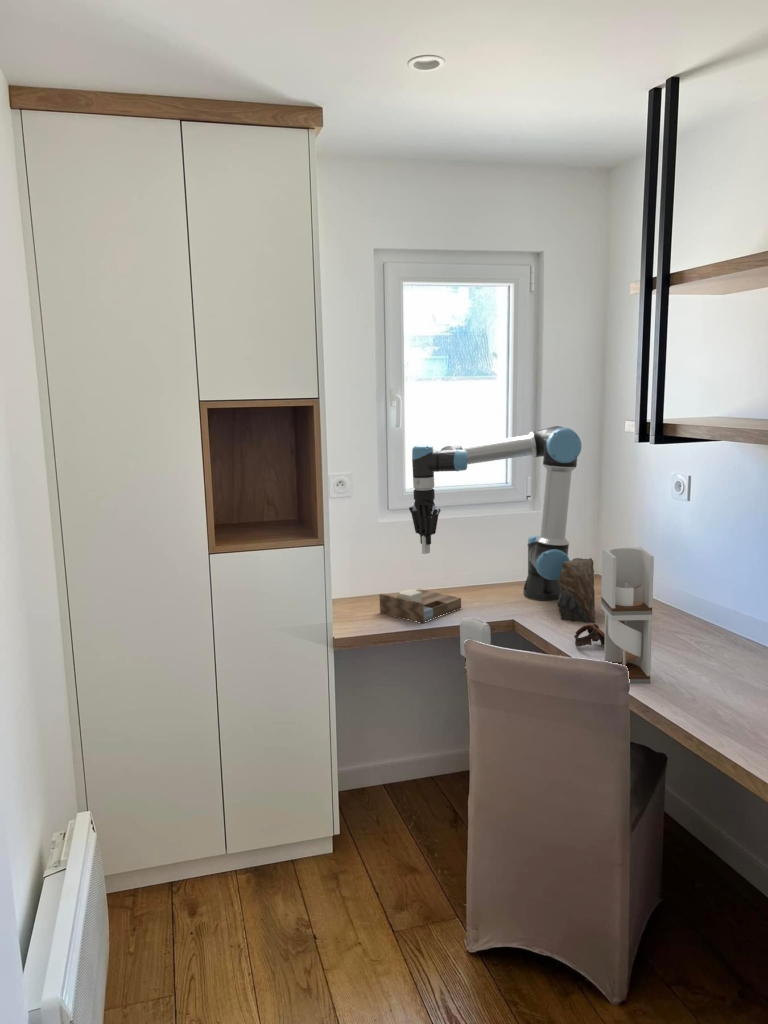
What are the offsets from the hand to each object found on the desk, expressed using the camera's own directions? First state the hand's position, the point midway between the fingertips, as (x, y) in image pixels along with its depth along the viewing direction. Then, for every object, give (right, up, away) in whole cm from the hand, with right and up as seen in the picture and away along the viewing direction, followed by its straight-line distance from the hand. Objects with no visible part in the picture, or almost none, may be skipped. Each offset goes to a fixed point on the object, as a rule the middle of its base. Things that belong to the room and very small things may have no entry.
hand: (426, 553), depth 275 cm
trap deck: (-2, -21, 0) cm, 21 cm away
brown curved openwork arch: (+49, -27, -42) cm, 70 cm away
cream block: (-6, -18, -4) cm, 19 cm away
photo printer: (+12, -29, -48) cm, 57 cm away
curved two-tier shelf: (+51, -31, -65) cm, 88 cm away
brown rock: (+52, -22, -14) cm, 58 cm away
